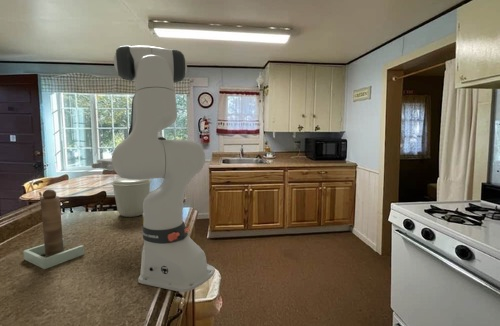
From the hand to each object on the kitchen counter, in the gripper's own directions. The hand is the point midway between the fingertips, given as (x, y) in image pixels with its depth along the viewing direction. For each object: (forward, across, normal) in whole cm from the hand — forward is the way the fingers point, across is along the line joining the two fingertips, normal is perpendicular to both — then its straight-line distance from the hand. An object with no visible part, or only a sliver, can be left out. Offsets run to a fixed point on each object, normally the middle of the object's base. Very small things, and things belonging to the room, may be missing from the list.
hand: (100, 167), depth 106 cm
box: (+18, 0, +28) cm, 33 cm away
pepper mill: (+18, 0, +28) cm, 33 cm away
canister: (-27, -18, +28) cm, 43 cm away
